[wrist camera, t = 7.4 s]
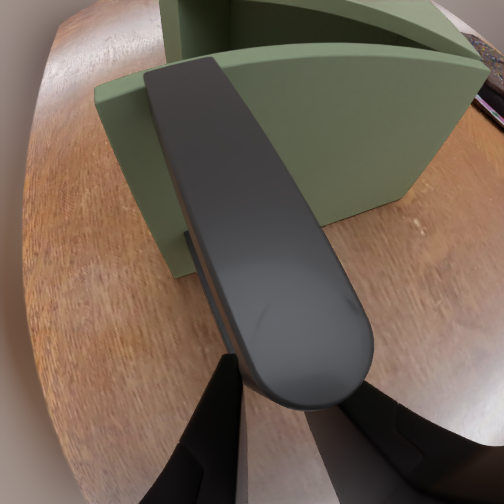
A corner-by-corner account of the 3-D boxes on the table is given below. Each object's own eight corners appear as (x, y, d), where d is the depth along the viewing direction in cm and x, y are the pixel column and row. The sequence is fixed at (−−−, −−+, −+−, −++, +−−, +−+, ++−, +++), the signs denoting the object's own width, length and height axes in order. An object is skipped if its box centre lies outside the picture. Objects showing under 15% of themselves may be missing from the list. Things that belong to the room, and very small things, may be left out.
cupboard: (398, 187, 20) (482, 57, 9) (179, 143, 20) (156, -16, 9) (382, 94, 25) (422, -6, 14) (221, 61, 25) (222, -49, 14)
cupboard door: (451, 282, 17) (586, 182, 6) (220, 400, 14) (176, 469, 3) (396, 189, 20) (483, 54, 9) (170, 266, 16) (89, 73, 5)
